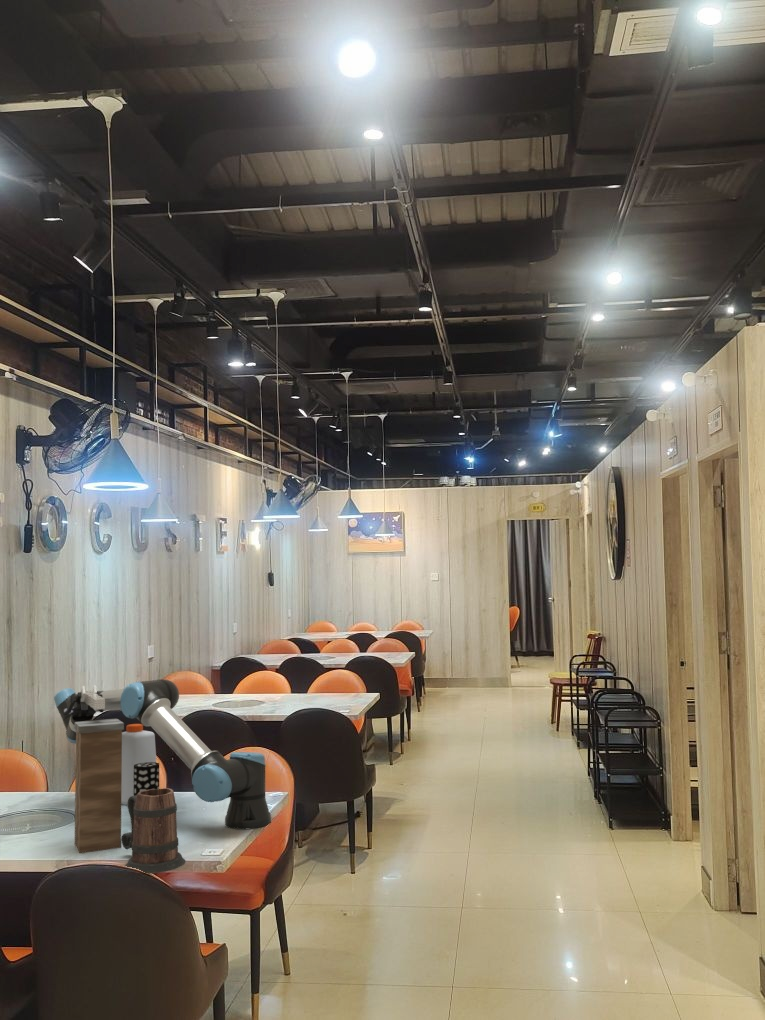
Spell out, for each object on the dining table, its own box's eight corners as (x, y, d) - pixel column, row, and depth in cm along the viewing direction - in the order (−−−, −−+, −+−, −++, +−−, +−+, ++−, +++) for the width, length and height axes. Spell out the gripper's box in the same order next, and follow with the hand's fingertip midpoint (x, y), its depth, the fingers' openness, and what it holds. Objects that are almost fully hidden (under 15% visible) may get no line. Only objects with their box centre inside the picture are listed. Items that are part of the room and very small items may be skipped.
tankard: (197, 862, 242) (197, 789, 244) (147, 877, 229) (147, 801, 231) (148, 848, 257) (149, 780, 259) (98, 862, 244) (99, 790, 246)
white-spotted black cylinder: (151, 821, 289) (151, 761, 291) (163, 825, 283) (164, 764, 285) (128, 826, 283) (129, 765, 285) (141, 831, 277) (141, 768, 279)
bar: (81, 700, 292) (81, 691, 292) (90, 699, 293) (90, 690, 294) (94, 709, 264) (94, 699, 264) (104, 708, 265) (104, 699, 265)
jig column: (72, 843, 265) (74, 721, 269) (115, 837, 270) (116, 718, 274) (77, 853, 253) (79, 726, 257) (122, 847, 259) (123, 723, 263)
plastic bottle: (163, 798, 323) (163, 723, 326) (129, 807, 311) (129, 728, 314) (138, 794, 332) (139, 721, 335) (105, 801, 320) (105, 726, 324)
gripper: (105, 726, 304) (115, 697, 287) (57, 730, 297) (64, 701, 280) (104, 706, 308) (113, 677, 291) (56, 710, 301) (63, 680, 284)
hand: (89, 689), depth 286 cm, fingers closed on bar, 3 cm apart
